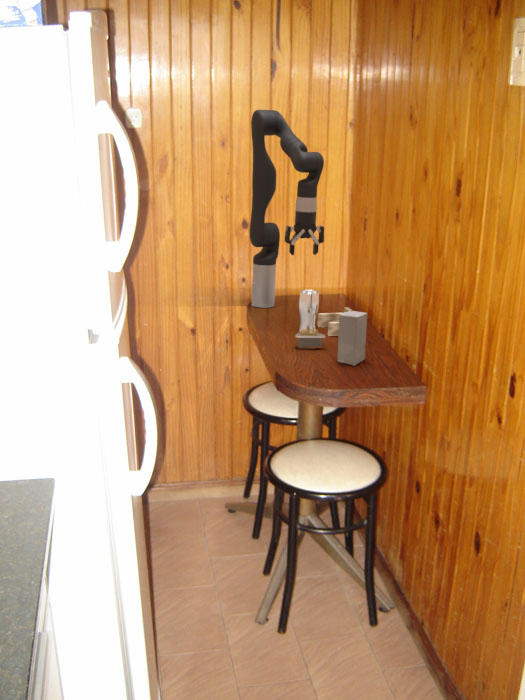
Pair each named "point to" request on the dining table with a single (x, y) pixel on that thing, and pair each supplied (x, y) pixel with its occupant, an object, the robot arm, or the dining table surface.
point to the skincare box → (352, 337)
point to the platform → (309, 339)
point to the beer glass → (308, 309)
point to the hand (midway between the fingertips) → (303, 254)
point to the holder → (330, 321)
